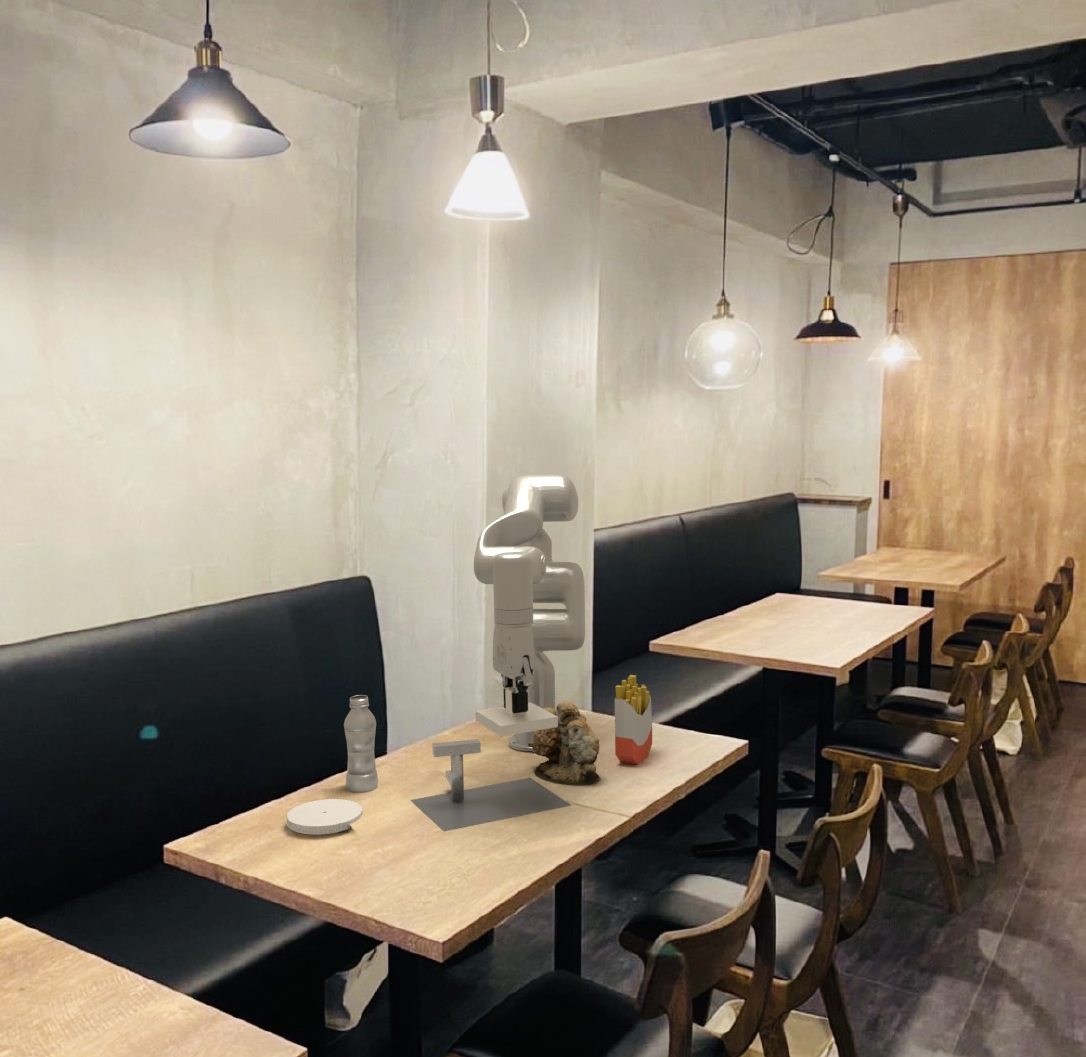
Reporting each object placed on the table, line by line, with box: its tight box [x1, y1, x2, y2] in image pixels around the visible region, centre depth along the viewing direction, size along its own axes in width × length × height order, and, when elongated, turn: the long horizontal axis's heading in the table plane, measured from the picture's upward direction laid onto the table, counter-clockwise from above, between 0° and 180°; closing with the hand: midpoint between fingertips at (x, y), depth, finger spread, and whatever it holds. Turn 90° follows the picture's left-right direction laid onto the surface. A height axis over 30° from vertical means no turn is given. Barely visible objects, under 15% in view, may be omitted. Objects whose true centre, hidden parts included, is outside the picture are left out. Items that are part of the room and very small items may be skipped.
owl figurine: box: [528, 700, 601, 787], centre depth 218 cm, size 18×12×17 cm, turn 52°
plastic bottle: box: [343, 694, 379, 794], centre depth 213 cm, size 6×7×20 cm
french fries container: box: [614, 674, 653, 765], centre depth 231 cm, size 5×11×18 cm, turn 152°
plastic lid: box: [286, 798, 364, 835], centre depth 199 cm, size 14×14×2 cm
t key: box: [431, 738, 482, 801], centre depth 207 cm, size 8×9×11 cm
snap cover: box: [474, 687, 558, 737], centre depth 205 cm, size 12×12×7 cm
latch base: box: [410, 777, 572, 832], centre depth 204 cm, size 26×18×2 cm
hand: (516, 708), depth 205 cm, fingers closed on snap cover, 3 cm apart
